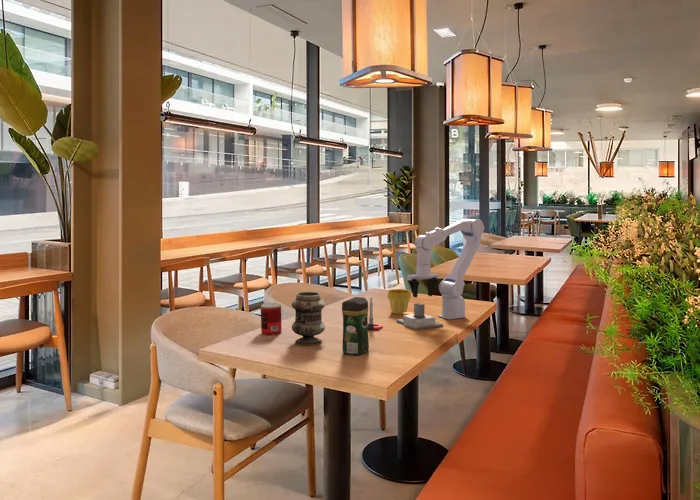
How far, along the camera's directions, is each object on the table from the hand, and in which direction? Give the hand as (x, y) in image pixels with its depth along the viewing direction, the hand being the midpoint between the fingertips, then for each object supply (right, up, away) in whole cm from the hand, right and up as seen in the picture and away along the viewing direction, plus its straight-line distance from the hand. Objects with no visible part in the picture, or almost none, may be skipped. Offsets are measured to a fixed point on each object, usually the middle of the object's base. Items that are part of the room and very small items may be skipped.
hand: (422, 296), depth 238 cm
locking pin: (-2, -10, -8) cm, 13 cm away
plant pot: (-8, -9, +18) cm, 22 cm away
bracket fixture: (-2, -11, -4) cm, 12 cm away
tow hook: (-22, -12, -10) cm, 27 cm away
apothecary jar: (-45, -14, -32) cm, 57 cm away
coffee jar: (-28, -15, -44) cm, 55 cm away
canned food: (-61, -13, -17) cm, 64 cm away
